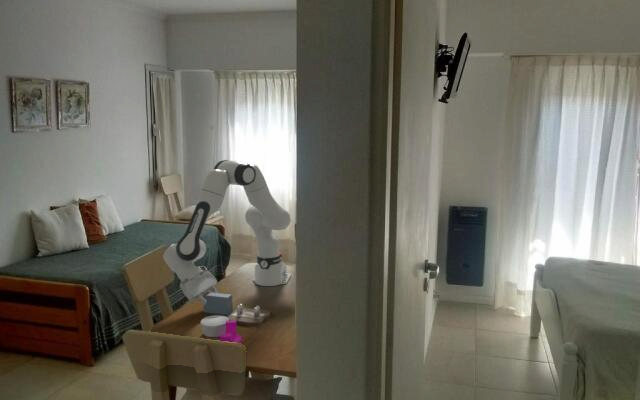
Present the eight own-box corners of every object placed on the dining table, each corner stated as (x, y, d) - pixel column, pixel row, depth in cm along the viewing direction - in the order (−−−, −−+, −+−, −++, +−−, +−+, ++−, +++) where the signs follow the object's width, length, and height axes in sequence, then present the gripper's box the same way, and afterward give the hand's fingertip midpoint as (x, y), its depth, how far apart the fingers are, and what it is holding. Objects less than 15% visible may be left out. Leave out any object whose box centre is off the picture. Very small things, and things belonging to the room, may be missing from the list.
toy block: (238, 356, 189) (237, 336, 188) (220, 356, 189) (219, 336, 188) (243, 338, 204) (242, 320, 203) (227, 338, 204) (226, 320, 203)
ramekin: (222, 325, 217) (221, 312, 216) (234, 333, 208) (234, 321, 208) (196, 332, 211) (195, 319, 210) (208, 341, 202) (207, 328, 201)
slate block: (208, 309, 235) (207, 291, 234) (232, 312, 231) (232, 294, 230) (203, 312, 231) (203, 294, 230) (228, 315, 228) (227, 297, 226)
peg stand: (239, 310, 233) (238, 298, 232) (272, 314, 228) (272, 302, 227) (223, 322, 219) (223, 310, 219) (258, 327, 214) (258, 314, 214)
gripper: (182, 278, 222) (203, 303, 221) (207, 265, 241) (227, 287, 240) (173, 288, 224) (195, 312, 223) (199, 273, 243) (219, 296, 242)
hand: (212, 299), depth 231 cm, fingers open, 8 cm apart
